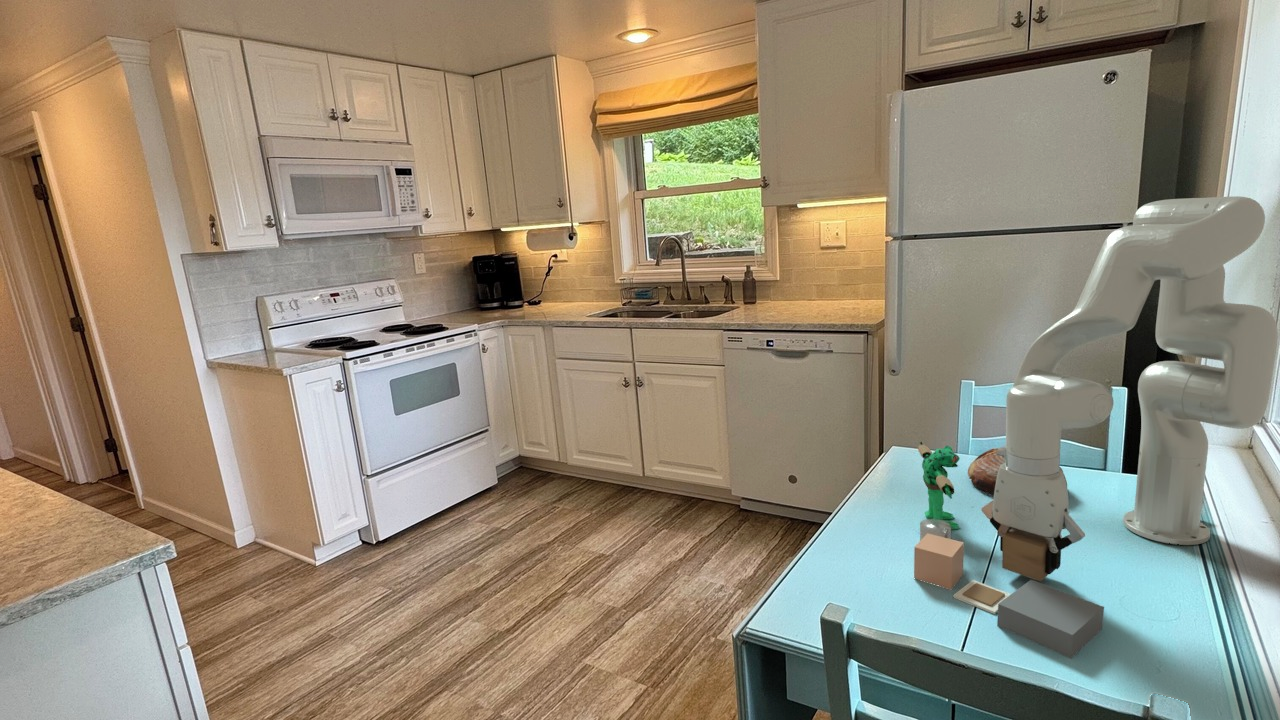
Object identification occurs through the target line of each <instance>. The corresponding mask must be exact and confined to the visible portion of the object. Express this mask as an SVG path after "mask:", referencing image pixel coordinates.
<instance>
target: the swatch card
mask: <svg viewBox="0 0 1280 720" xmlns="http://www.w3.org/2000/svg"><path fill="white" fill-rule="evenodd" d="M1011 594H1012V593H1009V592H1007V591H1003V590H1001V589H999V588H996V587H993V586H990V585H988V584H985V583H982V582H980V581H977V580H975V579H973V580H971V581H970V582H968V583H967V584H966V585H964V586H963V587H962V588H960V589H959V590H958V591H956V593H954V594H953V595H952V597H954V599H956V600H959V601H961V602H963V603H966V604H968V605H971V606H973V607H975V608H977V609H981V610H983V611H986V612H988V613H991V614H993V615H997V614H998V604H999V603H1000V602H1001V601H1003V600H1004V599H1005V598H1007V597H1008V596H1010V595H1011Z"/></svg>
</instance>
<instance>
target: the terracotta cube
mask: <svg viewBox="0 0 1280 720" xmlns="http://www.w3.org/2000/svg"><path fill="white" fill-rule="evenodd" d="M913 548H914V551H913V553H914V554H913V555H914V557H913V558H914V560H913V569H914V570H913V579H914V578H915V579H914V580H916V579H919V580H922V581H925V582H924V583H926V582H928V583H927V584H929V583H932V584H935V585H939V586H941V587H940V588H942V587H944V588H943V589H945V588H948V589H947V590H949V589H952V590H953V588H954V587H955V586H956V585H957V583H958V582H959V580H960V579H961V578H962V577H963V576H964V553H965V543H964V541H960V540H955V539H952V538H950V539H948V538H944V537H940V536H936V535H932V534H928V533H927V534H926V535H925V536H924V537H923V538H922V540H921V541H920V540H919V541H918V543H917V544H916V545H915V546H914V547H913ZM919 580H918V581H919ZM922 581H921V582H922ZM957 581H958V582H957ZM932 584H931V585H932ZM935 585H934V586H935ZM954 585H955V586H954ZM939 586H938V587H939Z"/></svg>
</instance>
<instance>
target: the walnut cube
mask: <svg viewBox="0 0 1280 720" xmlns="http://www.w3.org/2000/svg"><path fill="white" fill-rule="evenodd" d="M1048 549H1049V547H1048V544H1047V542H1046V539H1045V537H1042V536H1039V535H1035V534H1032V533H1028V532H1025V531H1021V530H1018V529H1015V528H1011V529H1010V530H1009V531H1008V532H1006V533H1005V534H1004V535H1003V548H1002V551H1001V553H1002V554H1001V555H1002V556H1001V561H1002V563H1001V564H1002V565H1001V568H1002V569H1004V570H1007V571H1010V572H1013V573H1015V574H1018V575H1021V576H1024V577H1027V578H1029V579H1031V580H1034V581H1037V582H1038V581H1039V582H1042V581H1043V580H1045V578H1047V576H1049V574H1047V573H1046V572H1045V565H1046V551H1047V550H1048Z"/></svg>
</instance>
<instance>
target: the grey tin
mask: <svg viewBox="0 0 1280 720" xmlns="http://www.w3.org/2000/svg"><path fill="white" fill-rule="evenodd" d="M945 521H946V520H945ZM945 521H942V520H938V519H934V518H926V519H922V520H921V521H920V522H919V542H920V541H921V540H922V538H923V537H924V536H925V535H926V534H927V533H928V534H932V535H936V536H940V537H944V538H948V539H952V538H951V537H952V536H951V535H952V533H951V532H952V529H951V526H950V524H949V523H947V522H945Z"/></svg>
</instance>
